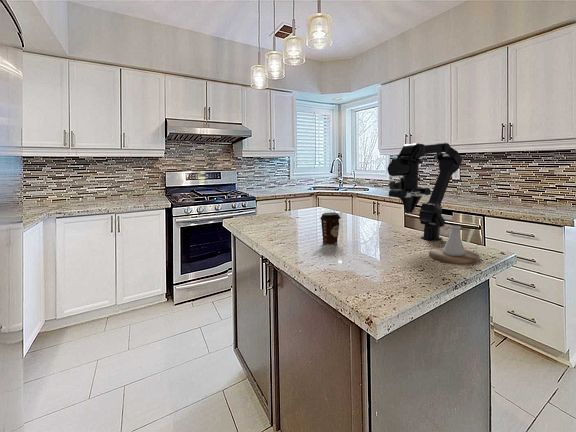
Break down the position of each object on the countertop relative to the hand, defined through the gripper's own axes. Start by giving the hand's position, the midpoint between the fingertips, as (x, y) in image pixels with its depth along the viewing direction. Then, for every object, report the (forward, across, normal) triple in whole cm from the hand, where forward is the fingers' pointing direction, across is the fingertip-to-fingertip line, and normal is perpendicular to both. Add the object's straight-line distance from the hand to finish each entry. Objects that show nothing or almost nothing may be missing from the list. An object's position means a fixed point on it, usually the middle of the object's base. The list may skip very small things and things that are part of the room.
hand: (409, 213), depth 131 cm
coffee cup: (+13, +27, -18) cm, 35 cm away
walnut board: (+13, +2, +22) cm, 26 cm away
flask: (+12, +2, +22) cm, 25 cm away
